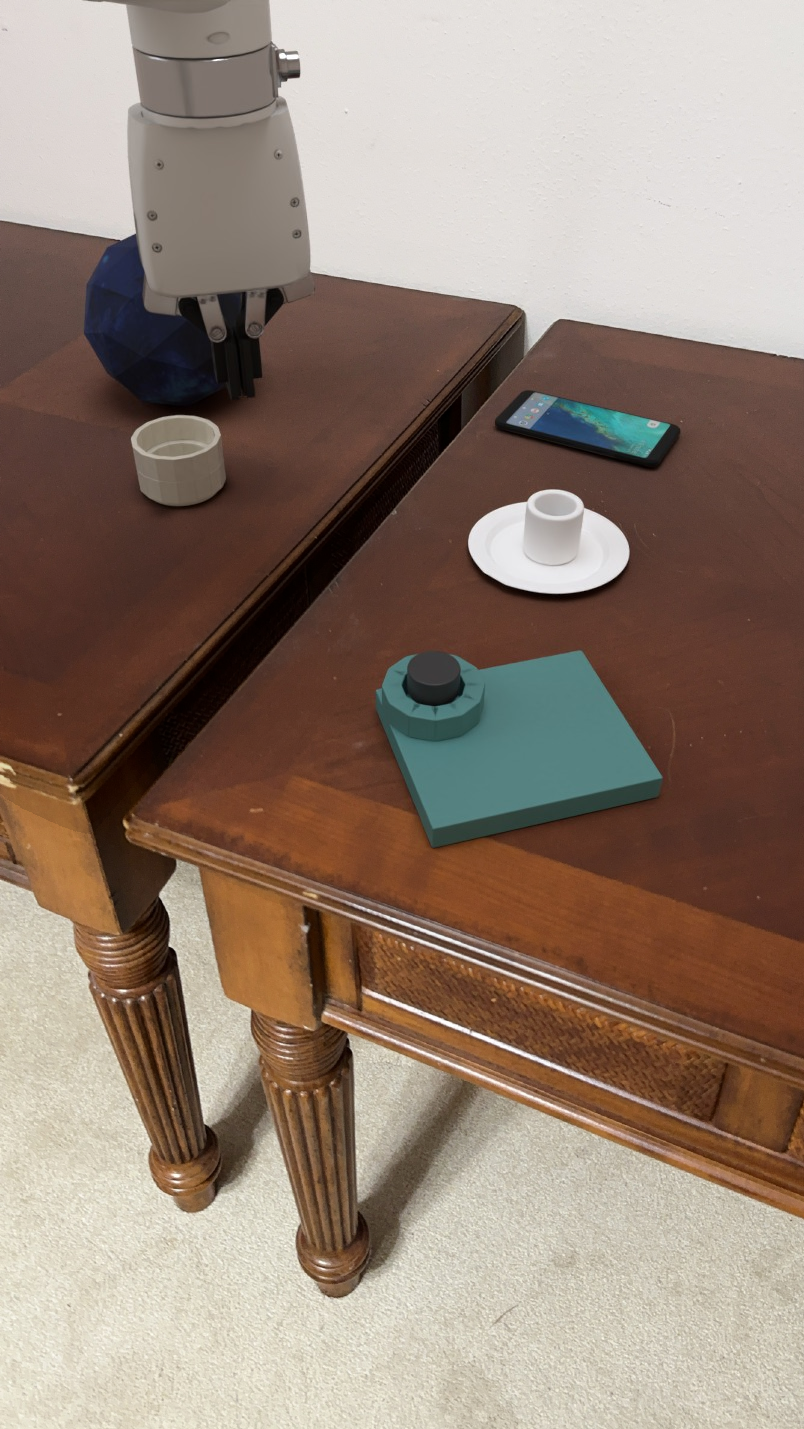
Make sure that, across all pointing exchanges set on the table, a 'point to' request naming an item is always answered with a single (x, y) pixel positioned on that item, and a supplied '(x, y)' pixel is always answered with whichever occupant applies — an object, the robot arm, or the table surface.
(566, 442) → the smartphone
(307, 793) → the table surface
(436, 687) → the button
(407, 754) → the teal dial base
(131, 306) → the decorative orb
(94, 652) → the table surface
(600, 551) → the candle holder
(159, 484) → the bowl
